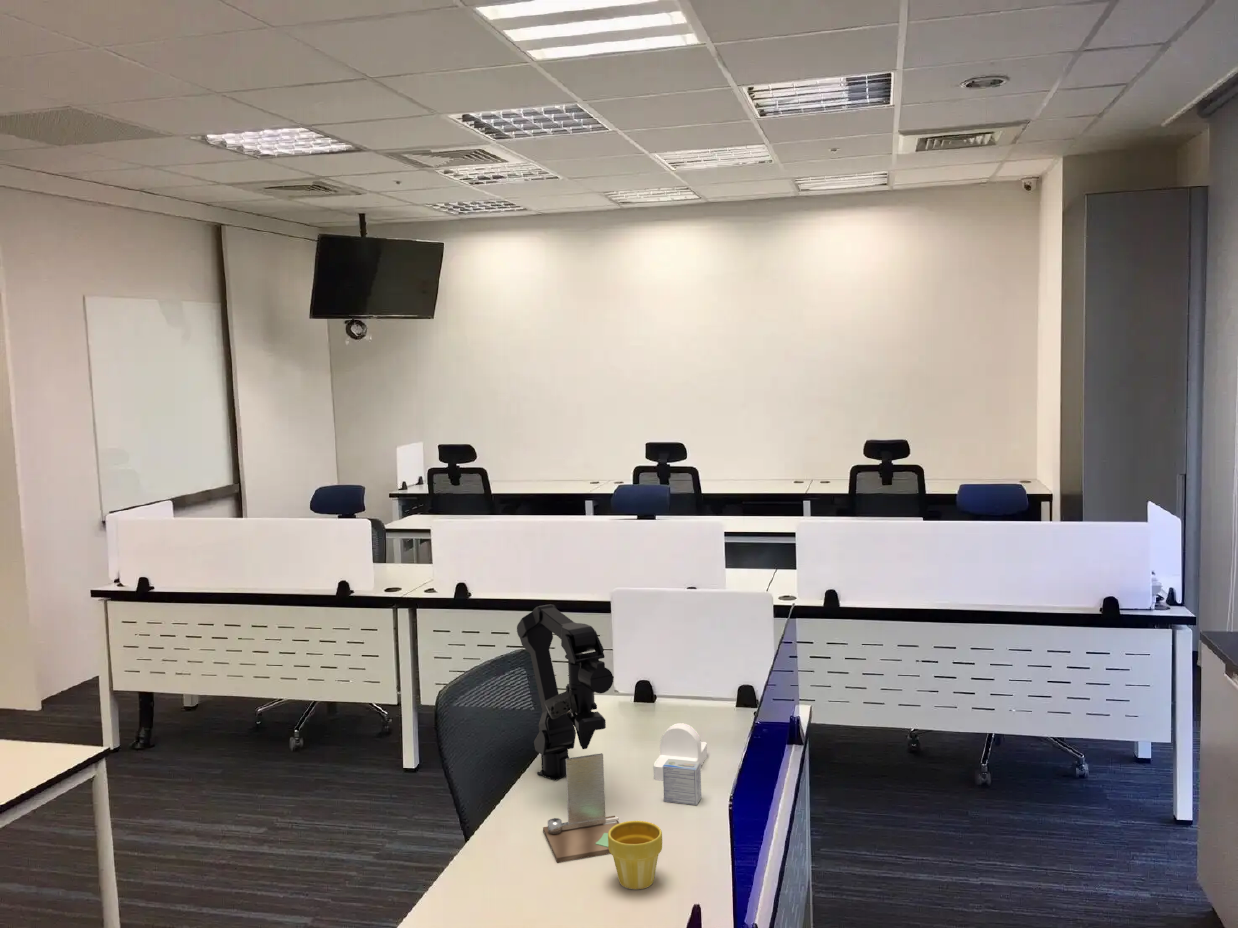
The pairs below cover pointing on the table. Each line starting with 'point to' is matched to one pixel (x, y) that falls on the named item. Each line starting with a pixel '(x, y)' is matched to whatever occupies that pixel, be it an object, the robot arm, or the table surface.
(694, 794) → the medicine box
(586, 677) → the robot arm
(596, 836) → the board
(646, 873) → the plant pot
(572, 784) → the lever
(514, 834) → the table surface
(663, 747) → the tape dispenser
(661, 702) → the table surface
